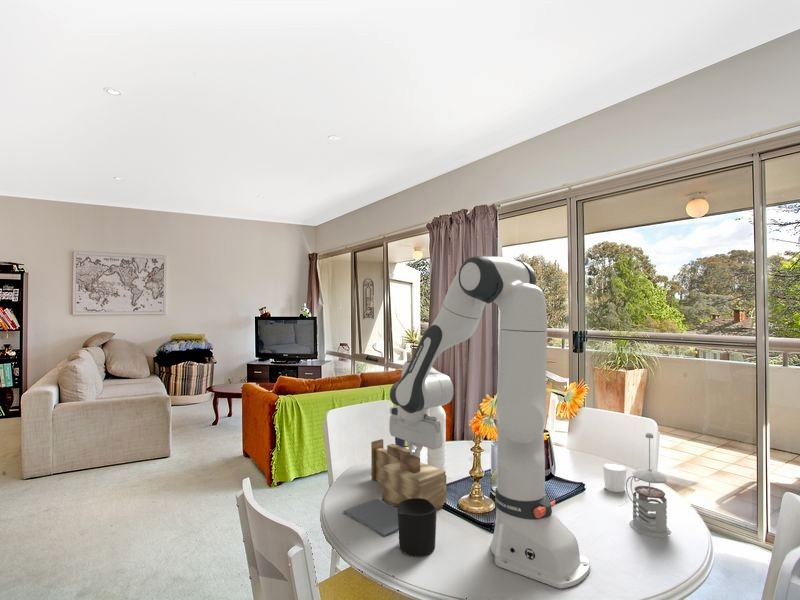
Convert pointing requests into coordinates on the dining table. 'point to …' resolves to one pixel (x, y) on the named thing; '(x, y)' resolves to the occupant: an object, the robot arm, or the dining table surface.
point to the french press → (649, 521)
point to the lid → (413, 469)
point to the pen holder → (417, 526)
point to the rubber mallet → (392, 396)
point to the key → (396, 450)
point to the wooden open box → (412, 490)
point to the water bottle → (438, 455)
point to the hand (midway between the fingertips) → (414, 456)
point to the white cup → (614, 477)
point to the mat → (376, 516)
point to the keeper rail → (380, 459)
